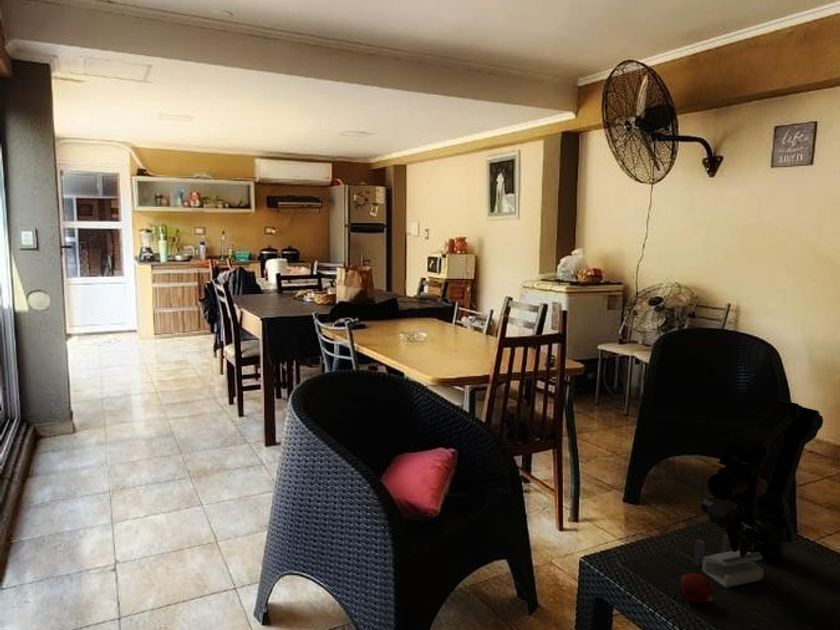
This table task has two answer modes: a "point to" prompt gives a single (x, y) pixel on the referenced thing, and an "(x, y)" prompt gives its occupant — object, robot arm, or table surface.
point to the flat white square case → (727, 567)
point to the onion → (696, 588)
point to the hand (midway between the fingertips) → (738, 553)
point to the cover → (732, 558)
